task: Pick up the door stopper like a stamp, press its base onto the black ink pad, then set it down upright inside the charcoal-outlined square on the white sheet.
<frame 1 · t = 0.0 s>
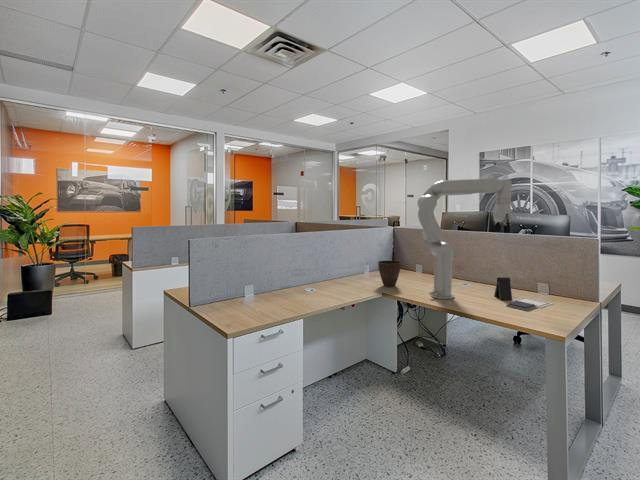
hand: (502, 232, 188), 37 cm above the table, tool pointing down, fingers open, 9 cm apart
print sheet: (531, 302, 178), on the table
ink pad: (521, 306, 170), on the table
plant pot: (389, 286, 221), on the table
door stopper: (502, 299, 187), on the table
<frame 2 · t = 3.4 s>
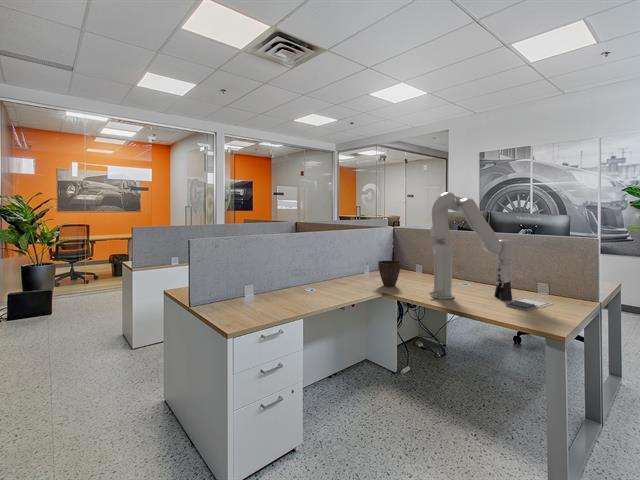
hand: (503, 293, 186), 3 cm above the table, tool pointing down, fingers closed on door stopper, 5 cm apart
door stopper: (503, 298, 187), on the table, touching gripper
everything else where it was.
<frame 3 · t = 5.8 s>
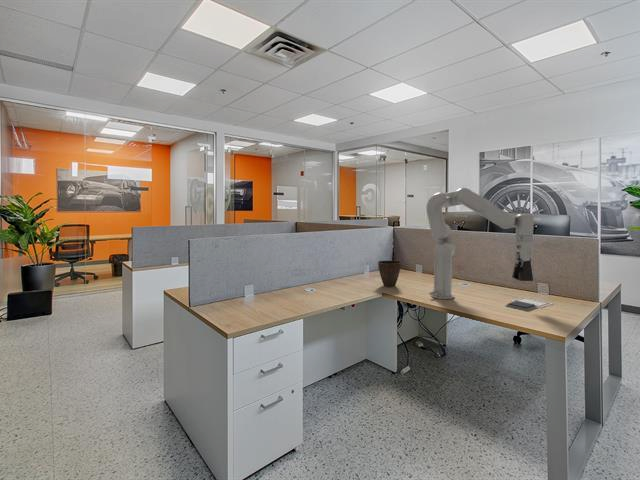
hand: (522, 273, 169), 17 cm above the table, tool pointing down, fingers closed on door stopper, 5 cm apart
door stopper: (522, 279, 169), point 14 cm above the table, touching gripper
everything else where it was.
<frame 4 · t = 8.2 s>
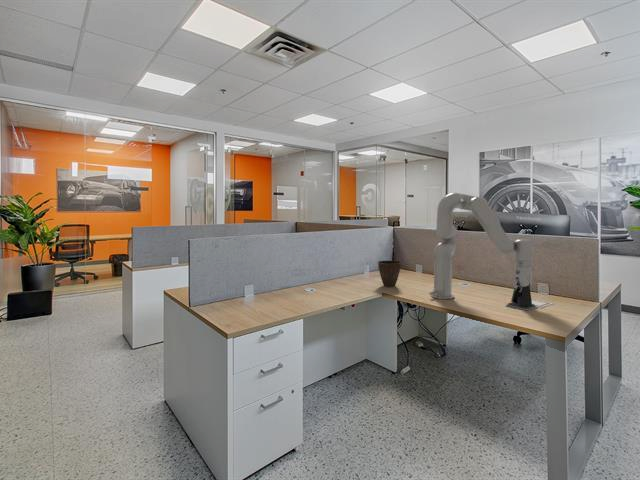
hand: (521, 298, 170), 5 cm above the table, tool pointing down, fingers closed on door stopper, 5 cm apart
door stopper: (521, 304, 170), point 1 cm above the table, touching gripper, ink pad
everything else where it was.
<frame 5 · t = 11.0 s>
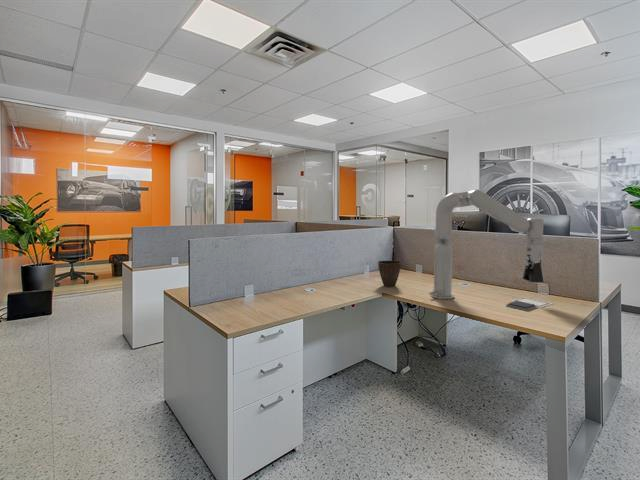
hand: (532, 274, 177), 15 cm above the table, tool pointing down, fingers closed on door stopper, 5 cm apart
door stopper: (532, 280, 177), point 12 cm above the table, touching gripper
everything else where it was.
when the fingers open (5 cm above the table, at t = 13.3 s): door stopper stays where it is, resting on print sheet.
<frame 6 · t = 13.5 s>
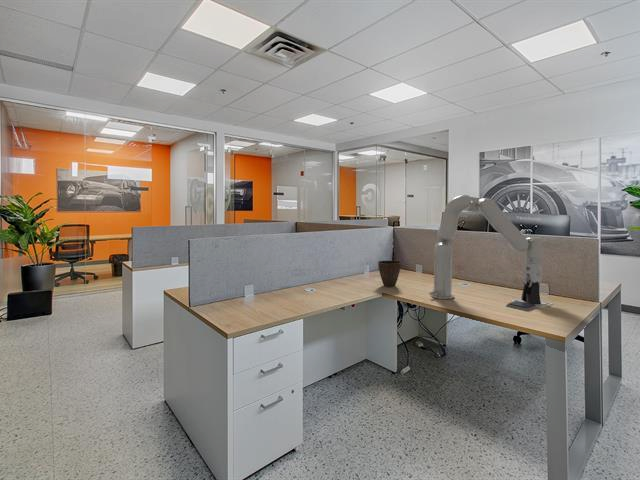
hand: (531, 292, 177), 5 cm above the table, tool pointing down, fingers open, 8 cm apart
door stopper: (530, 302, 178), resting on print sheet
everything else where it was.
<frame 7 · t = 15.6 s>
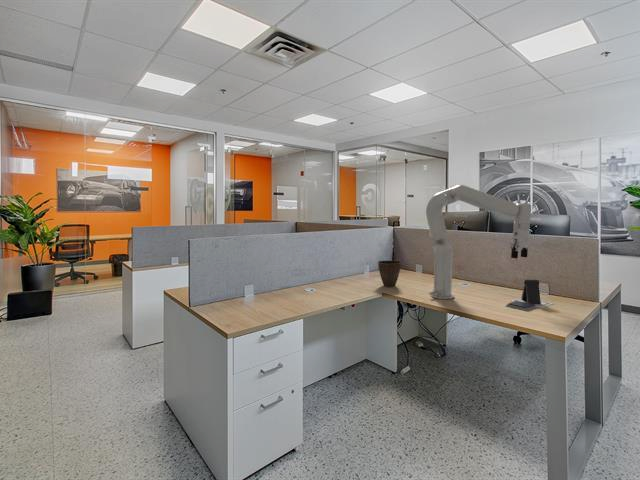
hand: (519, 257, 181), 24 cm above the table, tool pointing down, fingers open, 9 cm apart
nothing on the table moved.
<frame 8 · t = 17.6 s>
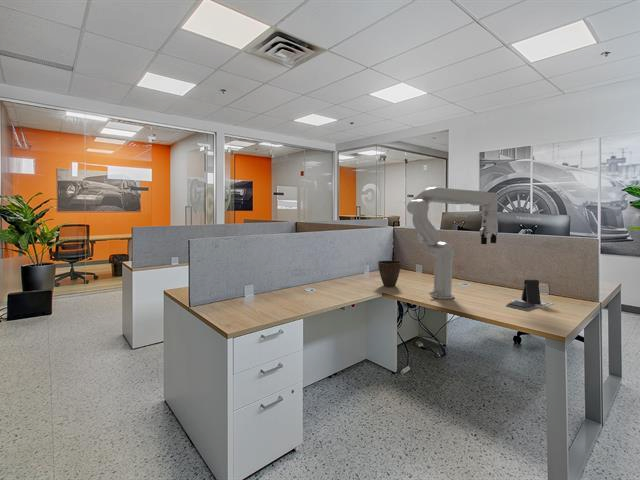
hand: (488, 243, 193), 30 cm above the table, tool pointing down, fingers open, 9 cm apart
nothing on the table moved.
at the end: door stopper inside the target area on the print sheet (0.4 cm from its centre), point 0.2 cm above the print sheet's base; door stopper tilted 0°; the gripper is holding nothing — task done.
